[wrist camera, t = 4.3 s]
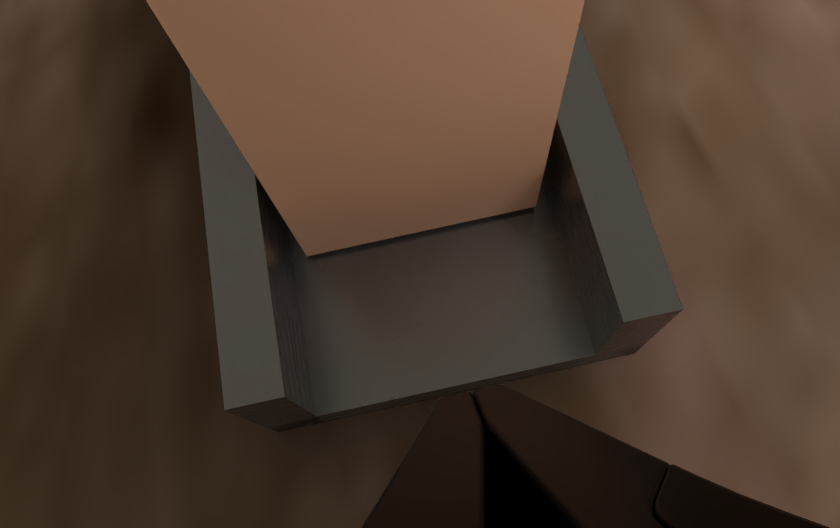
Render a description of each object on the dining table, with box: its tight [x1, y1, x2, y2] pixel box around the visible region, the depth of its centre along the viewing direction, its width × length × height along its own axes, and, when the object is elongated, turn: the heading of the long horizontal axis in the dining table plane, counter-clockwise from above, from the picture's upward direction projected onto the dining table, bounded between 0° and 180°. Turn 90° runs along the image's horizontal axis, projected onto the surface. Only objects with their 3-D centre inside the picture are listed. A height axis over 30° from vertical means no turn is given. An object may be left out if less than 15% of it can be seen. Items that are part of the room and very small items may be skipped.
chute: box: [189, 24, 683, 432], centre depth 18 cm, size 20×9×4 cm, turn 12°
